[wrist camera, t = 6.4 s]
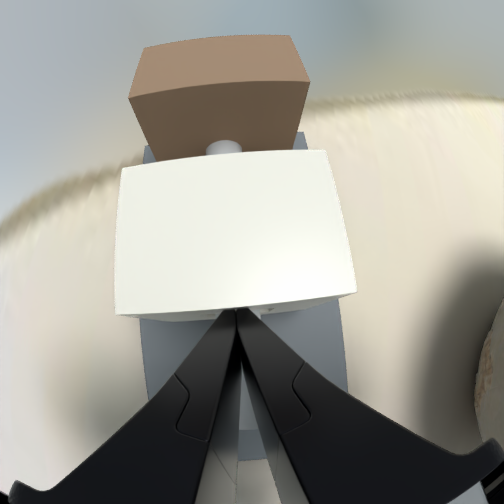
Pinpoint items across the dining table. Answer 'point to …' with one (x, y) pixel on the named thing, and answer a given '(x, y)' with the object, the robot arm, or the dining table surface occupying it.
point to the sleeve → (230, 236)
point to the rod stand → (223, 142)
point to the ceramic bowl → (491, 382)
